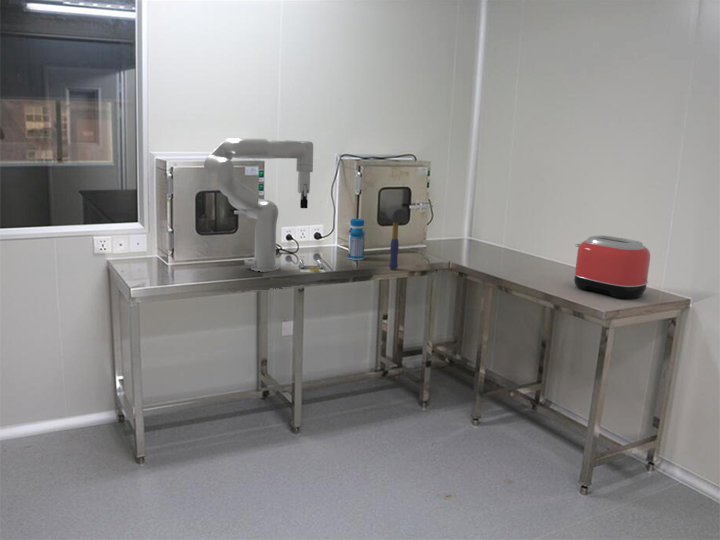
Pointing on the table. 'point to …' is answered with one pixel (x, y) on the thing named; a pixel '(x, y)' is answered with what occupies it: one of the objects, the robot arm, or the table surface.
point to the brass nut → (314, 269)
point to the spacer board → (307, 269)
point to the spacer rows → (319, 263)
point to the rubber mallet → (395, 232)
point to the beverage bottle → (356, 240)
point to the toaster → (612, 266)
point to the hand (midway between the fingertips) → (303, 208)
